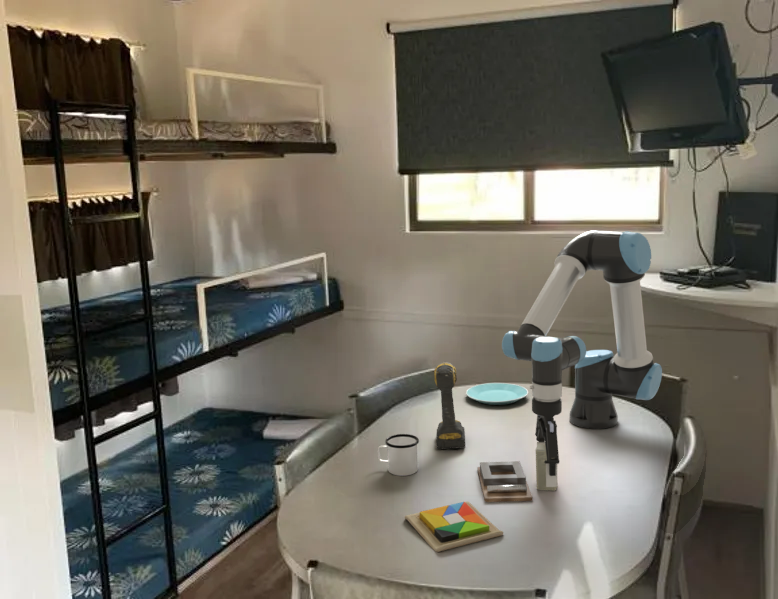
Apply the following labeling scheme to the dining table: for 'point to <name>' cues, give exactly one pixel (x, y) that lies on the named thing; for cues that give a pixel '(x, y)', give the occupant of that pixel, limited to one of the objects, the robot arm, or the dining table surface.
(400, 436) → the mug
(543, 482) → the box
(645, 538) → the dining table surface
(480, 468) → the stand
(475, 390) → the plate
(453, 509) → the wooden puzzle
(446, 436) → the cordless drill
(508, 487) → the rod
